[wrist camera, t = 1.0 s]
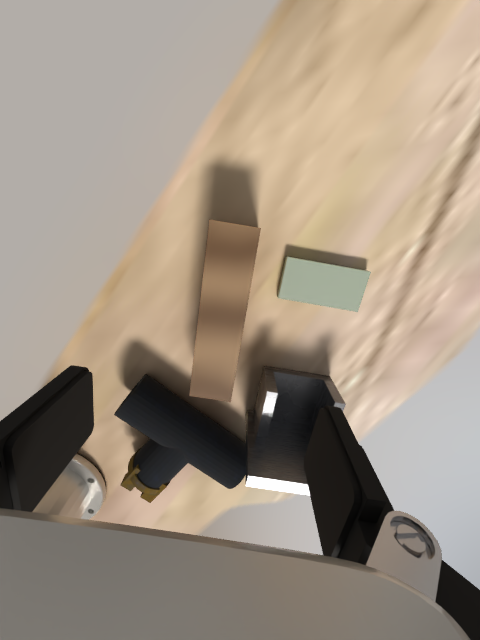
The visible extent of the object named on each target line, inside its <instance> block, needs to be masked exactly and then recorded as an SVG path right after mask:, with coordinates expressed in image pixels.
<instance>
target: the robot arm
mask: <svg viewBox="0 0 480 640" xmlns="http://www.w3.org/2000/svg"><path fill="white" fill-rule="evenodd" d="M93 427H94V413H93V378H92V373H91V372H89V370H88V368H86V367H80V366H70V367H68V368H67V369H66V370H65V371H63V372H62V373H61V374H59V375H58V376H57V377H56V378H54V379H53V380H52V381H51V382H49V383H48V384H47V385H46V386H44V387H43V388H42V389H41V390H39V391H38V392H37V393H35V394H34V395H33V396H32V397H30V398H29V399H28V400H27V401H25V402H24V403H23V404H22V405H20V406H19V407H18V408H17V409H15V410H14V411H13V412H11V413H10V414H9V415H8V416H7V417H5V418H4V419H3V420H1V421H0V640H480V590H479V589H478V588H477V587H475V586H474V585H473V584H471V583H470V582H469V581H468V580H467V579H465V578H464V577H463V576H462V575H460V574H459V573H458V572H457V571H455V570H454V569H453V568H451V567H450V566H449V565H448V564H447V563H445V562H444V561H443V560H442V553H441V549H440V546H439V544H438V541H437V540H436V539H435V537H434V535H433V534H432V533H431V532H430V530H428V528H427V527H426V526H425V525H424V524H423V523H421V522H420V521H419V520H418V519H416V518H415V517H413V516H411V515H409V514H407V513H404V512H401V511H394V509H393V507H392V505H391V503H390V501H389V499H388V497H387V495H386V493H385V491H384V489H383V487H382V485H381V483H380V481H379V479H378V477H377V475H376V473H375V471H374V469H373V467H372V465H371V463H370V461H369V459H368V457H367V455H366V453H365V451H364V449H363V448H362V446H360V445H359V444H358V442H357V440H356V438H355V436H354V434H353V432H352V430H351V428H350V426H349V424H348V422H347V420H346V417H345V415H344V413H343V411H342V409H341V408H339V407H334V406H327V405H326V406H325V407H324V409H323V408H320V410H319V412H318V416H317V419H316V422H315V425H314V428H313V432H312V435H311V438H310V441H309V444H308V448H307V451H306V454H305V457H304V469H305V474H306V478H307V483H308V488H309V492H310V497H311V500H312V506H313V510H314V515H315V519H316V523H317V528H318V533H319V537H320V542H321V546H322V551H323V555H318V554H312V553H306V552H300V551H295V550H289V549H283V548H276V547H269V546H263V545H256V544H250V543H244V542H237V541H230V540H224V539H217V538H211V537H204V536H197V535H191V534H184V533H177V532H170V531H163V530H156V529H150V528H143V527H136V526H129V525H122V524H115V523H108V522H101V521H94V520H88V519H90V518H92V517H93V516H94V515H96V513H97V512H98V511H99V510H100V508H101V506H102V504H103V502H104V500H105V496H106V486H105V482H104V480H103V478H102V476H101V474H100V473H99V471H98V470H97V469H96V467H95V466H94V465H93V464H91V463H90V462H89V461H88V460H86V459H85V458H84V457H82V456H80V455H78V454H76V453H77V452H78V451H79V449H80V448H81V447H82V445H83V444H84V443H85V441H86V440H87V439H88V437H89V436H90V435H91V433H92V431H93Z"/></svg>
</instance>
